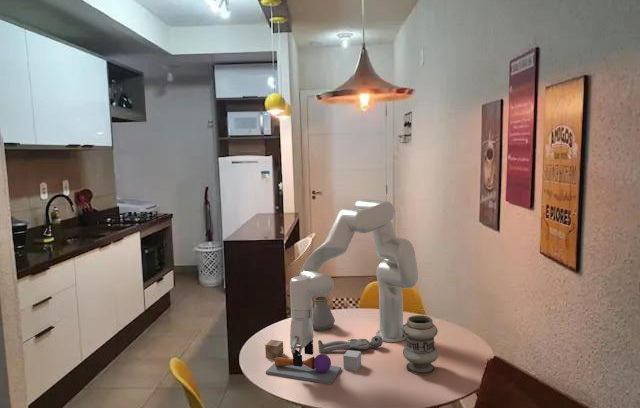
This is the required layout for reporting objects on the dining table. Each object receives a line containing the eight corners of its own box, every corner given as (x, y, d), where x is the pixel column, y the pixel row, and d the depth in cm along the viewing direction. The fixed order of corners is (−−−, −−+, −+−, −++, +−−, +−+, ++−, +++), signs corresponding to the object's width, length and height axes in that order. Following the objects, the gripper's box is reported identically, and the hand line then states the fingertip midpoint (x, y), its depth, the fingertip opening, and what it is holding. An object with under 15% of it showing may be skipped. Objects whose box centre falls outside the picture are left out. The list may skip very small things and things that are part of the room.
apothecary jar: (395, 367, 164) (395, 318, 162) (418, 357, 171) (418, 310, 169) (422, 380, 155) (422, 327, 153) (445, 369, 162) (445, 319, 160)
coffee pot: (335, 322, 210) (334, 289, 209) (334, 331, 199) (333, 297, 197) (288, 322, 211) (287, 290, 210) (285, 332, 200) (283, 298, 198)
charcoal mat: (341, 369, 164) (341, 367, 164) (330, 384, 154) (330, 381, 153) (280, 360, 173) (279, 358, 172) (265, 373, 162) (265, 371, 162)
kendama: (279, 351, 169) (332, 352, 163) (280, 368, 168) (333, 370, 162) (273, 355, 163) (327, 356, 157) (273, 372, 162) (328, 374, 156)
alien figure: (317, 336, 184) (380, 331, 185) (318, 348, 185) (381, 343, 186) (318, 345, 176) (384, 339, 177) (319, 357, 177) (384, 351, 178)
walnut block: (283, 353, 179) (282, 341, 178) (277, 359, 174) (277, 346, 174) (271, 352, 180) (271, 339, 180) (265, 357, 176) (265, 344, 175)
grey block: (361, 364, 167) (361, 351, 167) (357, 371, 163) (356, 357, 162) (348, 363, 169) (347, 349, 169) (343, 369, 164) (343, 355, 164)
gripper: (301, 303, 170) (303, 348, 172) (280, 319, 154) (282, 369, 156) (321, 305, 167) (322, 351, 169) (301, 322, 151) (303, 372, 153)
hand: (303, 359), depth 163 cm, fingers open, 9 cm apart
